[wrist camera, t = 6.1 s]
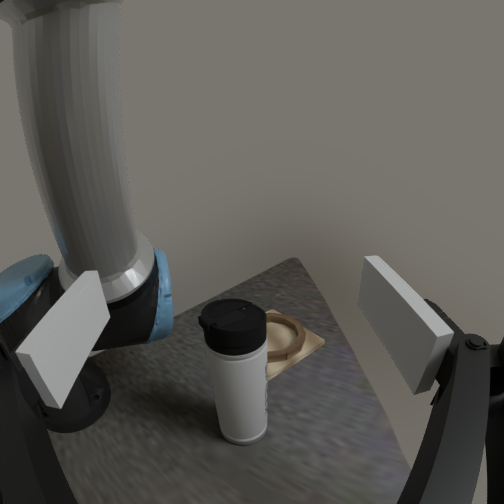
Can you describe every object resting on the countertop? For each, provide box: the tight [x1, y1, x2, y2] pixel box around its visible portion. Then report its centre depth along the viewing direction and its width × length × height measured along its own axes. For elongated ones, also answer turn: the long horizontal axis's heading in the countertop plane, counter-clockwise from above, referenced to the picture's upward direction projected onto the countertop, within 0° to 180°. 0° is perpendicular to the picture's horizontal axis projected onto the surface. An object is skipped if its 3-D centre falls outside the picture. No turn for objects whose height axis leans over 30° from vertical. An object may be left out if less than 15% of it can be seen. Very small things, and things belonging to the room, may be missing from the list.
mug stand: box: [266, 309, 325, 381], centre depth 52 cm, size 14×14×2 cm
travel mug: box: [198, 299, 267, 445], centre depth 31 cm, size 6×7×20 cm
